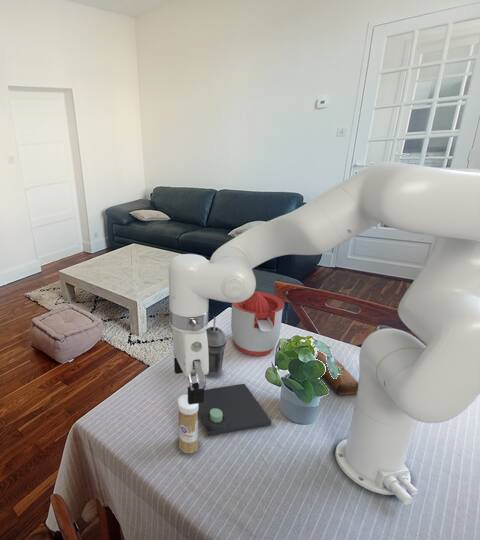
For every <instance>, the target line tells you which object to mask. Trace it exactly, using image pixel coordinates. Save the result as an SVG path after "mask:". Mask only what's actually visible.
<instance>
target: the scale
mask: <svg viewBox="0 0 480 540" xmlns="http://www.w3.org/2000/svg"><path fill="white" fill-rule="evenodd" d="M213 408H217V409H220V410H221V411H222V413H223V417H222V421H221V422H219V423H215V422H213V421H211V419H210V410H211V409H213ZM198 419H199V420H200V422H201V424H202V427H203V429H204V431H205V433H206V435H207V437H211V436H212V437H213V436H218V435H224V434H229V433H235V432H241V431H248V430H252V429H258V428H265V427H269V426H270V427H271V426H272V420H271V419H270V417H269V416H268V414H267V413H266V412H265V410H264V409H263V408H262V406H261V404H260V403H259V402H258V401H257V399H256V398H255V396H254V395H253V393H252V392H251V391H250V390H249V388H248V387H247V385H246V384H245V383H241V384H239V383H238V384H234V385H226V386H221V387H215V388H209V389H204V402H203V403H198Z"/></svg>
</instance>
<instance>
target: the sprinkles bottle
mask: <svg viewBox="0 0 480 540" xmlns="http://www.w3.org/2000/svg"><path fill="white" fill-rule="evenodd" d="M176 405H177V410H178V411H177V412H178V416H177V417H178V424H177V425H178V427H177V428H178V448H179V449H180V450H181V451H182V452H183V453H184V454H194V453H196V452H197V451H198V449H199V443H198V441H199V440H198V438H199V416H198V403H197V404H188V393H187V394H182V395H180V396H179V397H178V398H177V403H176Z"/></svg>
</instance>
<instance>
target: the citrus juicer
mask: <svg viewBox="0 0 480 540" xmlns="http://www.w3.org/2000/svg"><path fill="white" fill-rule="evenodd" d="M284 306H285V303H284V301H283V299H281V298H280V297H278V296H276V295H274V294H272V293H269V292H264V291H256V290H255V291H254V293H253V295H252V296H251V297H250V298H249V299H247V300H245V301H242V302H238V303H231V315H230V316H231V317H230V325H231V326H230V330H231V335H232V339H233V342H234V345H235V347H236V348H237V350H239V351H240V352H241V353H244V354H245V355H250V356H254V357H263V356H267V355H269V354H271V353H272V352H273V350H274V349H275V348H276V345H277V343H278V341H279V338H280V335H281V328H282V319H283V318H282V317H283V309H284Z"/></svg>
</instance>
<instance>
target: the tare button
mask: <svg viewBox="0 0 480 540" xmlns="http://www.w3.org/2000/svg"><path fill="white" fill-rule="evenodd" d="M222 417H223V413H222V411H221V410H220V409H217V408H213V409H211V410H210V419H211V421H213V422H215V423H219V422H221V421H222Z"/></svg>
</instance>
